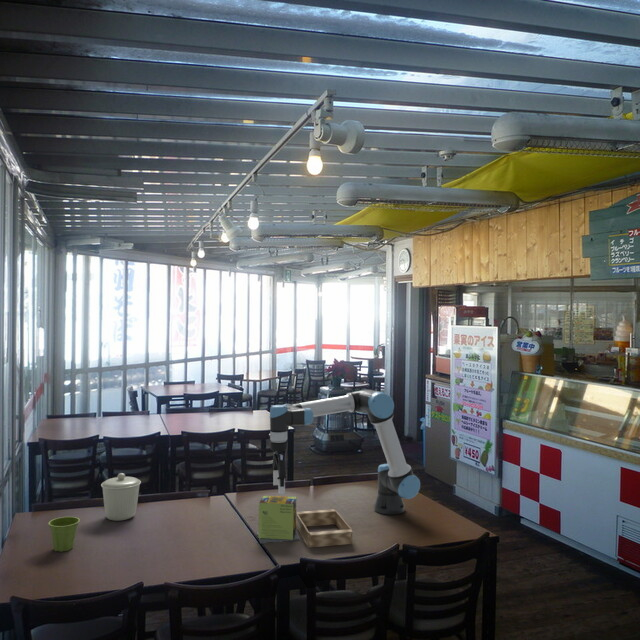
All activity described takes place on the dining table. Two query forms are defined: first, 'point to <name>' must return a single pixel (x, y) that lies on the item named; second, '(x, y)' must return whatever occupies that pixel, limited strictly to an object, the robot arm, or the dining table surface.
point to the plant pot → (63, 532)
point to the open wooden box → (325, 536)
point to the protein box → (277, 517)
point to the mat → (263, 540)
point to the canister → (120, 497)
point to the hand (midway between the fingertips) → (279, 489)
